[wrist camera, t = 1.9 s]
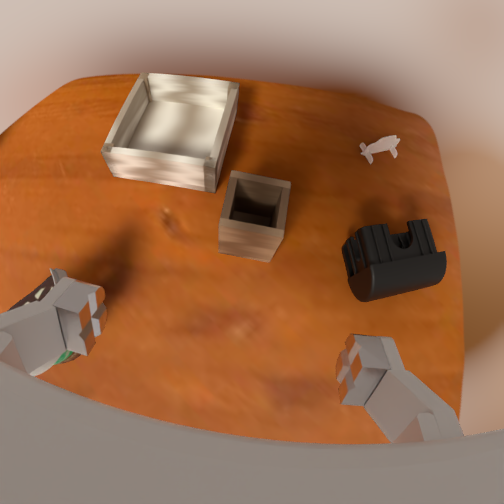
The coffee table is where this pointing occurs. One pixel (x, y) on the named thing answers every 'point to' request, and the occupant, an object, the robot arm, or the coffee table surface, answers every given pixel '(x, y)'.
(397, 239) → the end cap
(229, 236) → the small crate
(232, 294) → the coffee table surface
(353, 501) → the robot arm
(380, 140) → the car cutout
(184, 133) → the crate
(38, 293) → the food container
